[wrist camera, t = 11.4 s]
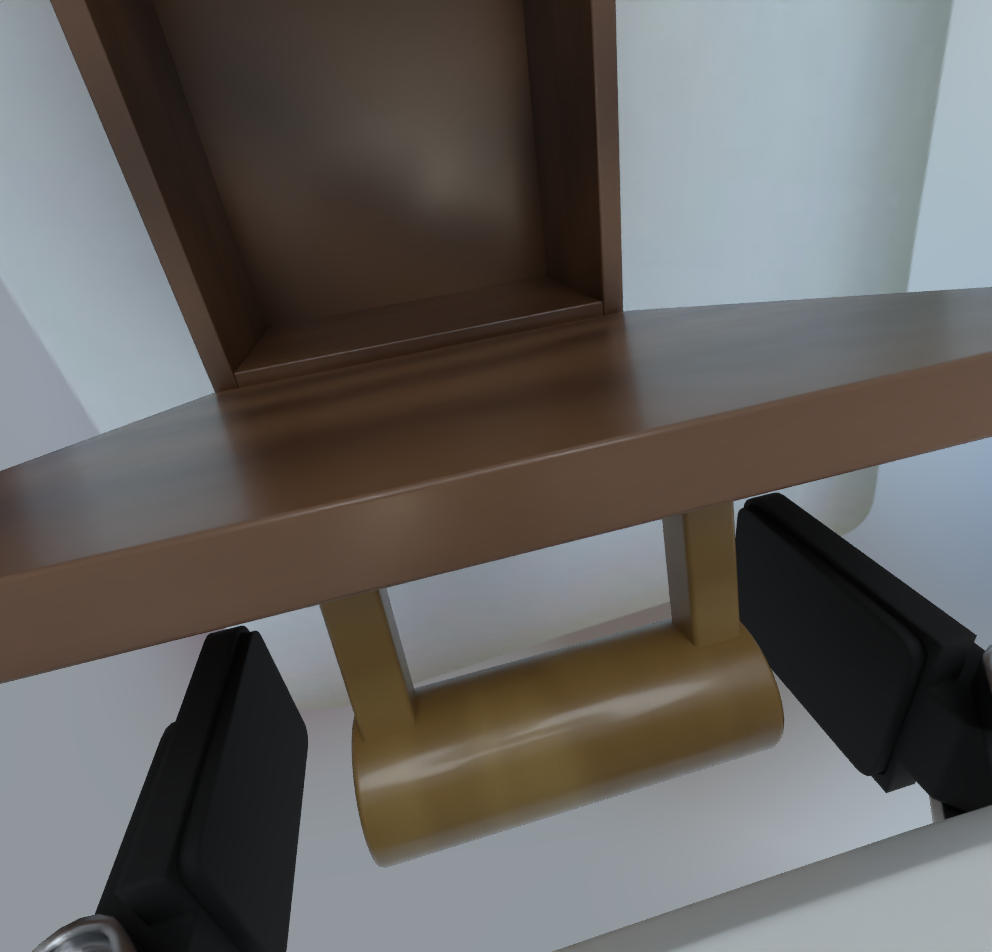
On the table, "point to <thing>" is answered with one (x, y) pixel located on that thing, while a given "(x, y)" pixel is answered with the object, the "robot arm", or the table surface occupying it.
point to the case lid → (492, 530)
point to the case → (363, 168)
